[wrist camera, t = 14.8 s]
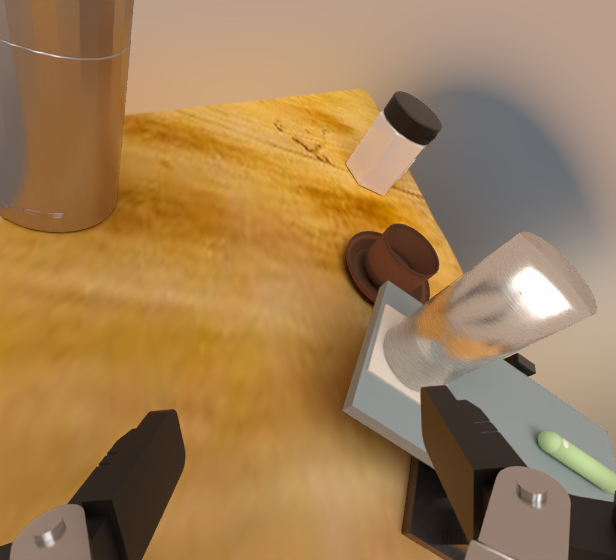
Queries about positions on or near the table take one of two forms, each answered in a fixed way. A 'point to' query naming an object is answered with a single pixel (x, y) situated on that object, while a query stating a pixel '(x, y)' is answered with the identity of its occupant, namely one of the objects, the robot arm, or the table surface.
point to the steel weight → (489, 314)
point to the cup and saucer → (392, 261)
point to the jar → (393, 143)
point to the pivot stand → (440, 502)
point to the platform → (490, 399)
